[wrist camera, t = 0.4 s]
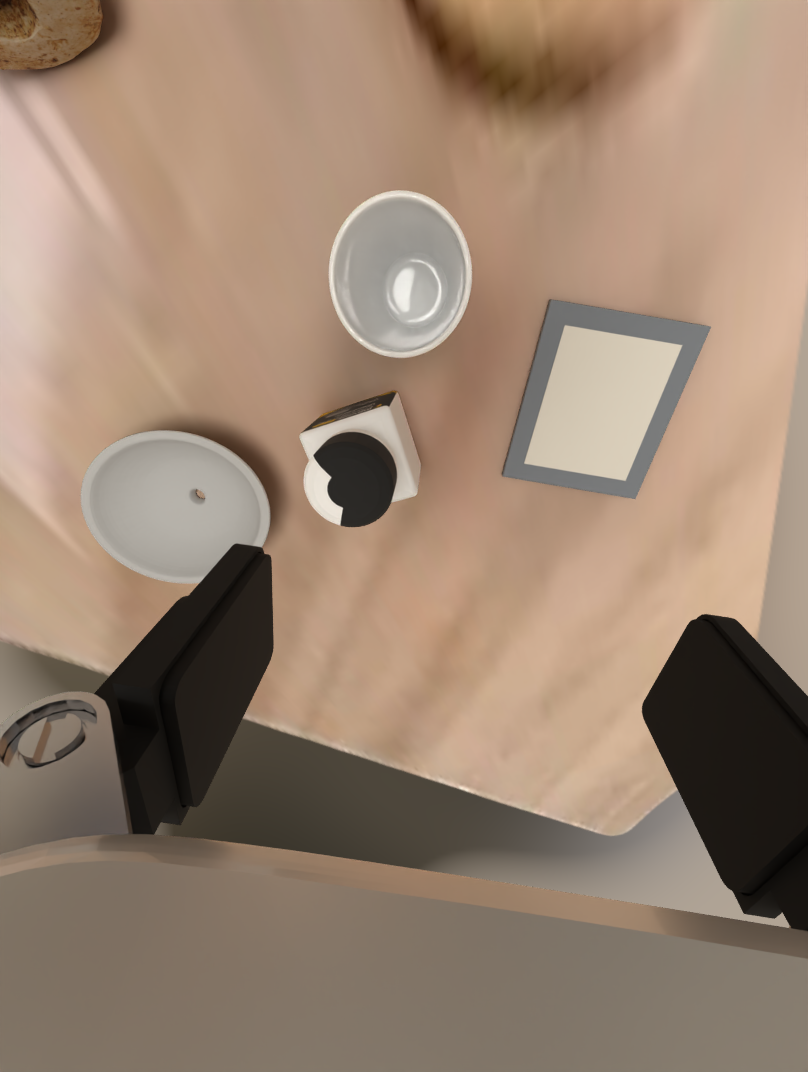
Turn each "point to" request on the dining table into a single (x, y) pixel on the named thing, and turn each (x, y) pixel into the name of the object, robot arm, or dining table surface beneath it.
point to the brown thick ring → (46, 31)
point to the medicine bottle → (360, 461)
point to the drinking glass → (400, 274)
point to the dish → (172, 504)
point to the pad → (600, 397)
